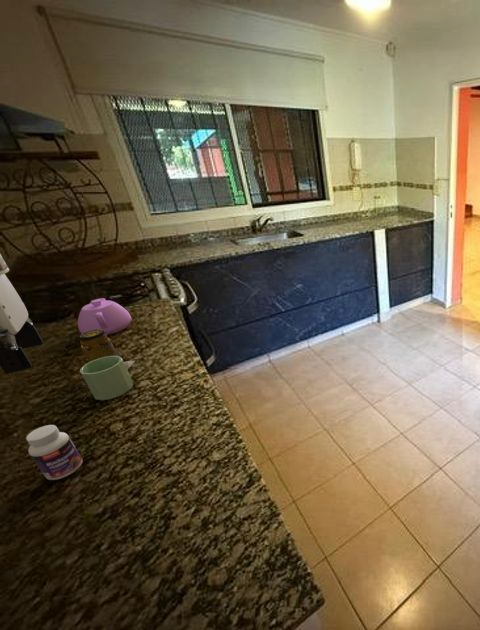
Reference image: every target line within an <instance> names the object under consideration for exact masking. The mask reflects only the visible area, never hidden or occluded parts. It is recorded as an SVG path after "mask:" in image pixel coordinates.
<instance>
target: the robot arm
mask: <svg viewBox="0 0 480 630" xmlns="http://www.w3.org/2000/svg"><path fill="white" fill-rule="evenodd" d="M9 272H10V268H9V267H8V265H7V263H6V261H5V260H4V258H3V255H2V254H1V253H0V368H1V369H2V371H3V372H4V373H5V374H12V373H16V372H20V371H25V370H28V369H31V368H32V367H33V363H32V361H31V360H30V359H29V357H28V355H27V354H26V352H25V351H24V349H29V348H32V347H37V346H41V345H43V344H44V339H42V336H41V335H40V334H39V332H38V330H37V328H36V326H35V325H34V324H33V321H32V319H31V318H29V311H28V310H27V307H26V305H25V303H24V302H23V299H22V298H21V296H20V295H19V293H18V292H17V290H16V289H15V287H14V286H13V283H11V281H10V279H9V277H8V276H7V275H6V274H8V273H9ZM3 339H6V340H7V341H5V340H3Z"/></svg>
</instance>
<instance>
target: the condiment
mask: <svg viewBox="0 0 480 630" xmlns="http://www.w3.org/2000/svg"><path fill="white" fill-rule="evenodd" d="M78 340H79V342H80V344H81V345H80V348H81V350H82V352H83V355H84V356H85V358H86V360H87V363H89V362H91V361H93V360H96V359H98V358H102V357H106V356H119V355H118V353H117V351H116V349H115V347H114V344H113V342H112V340H111V339H110V338H109V337H108V335H106V334H105V332H104V330H101V329H96V330H90V331H87V332H85V333H81V334H79V335H78ZM123 362H124V364H125V366H126V368H127V370H129V369H130V368H131V367H132V365H134V363H135V362H136V360H128V361H123Z"/></svg>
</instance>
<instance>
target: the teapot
mask: <svg viewBox="0 0 480 630" xmlns="http://www.w3.org/2000/svg"><path fill="white" fill-rule="evenodd" d="M131 322H132V316H131V314H130V312H129V311H128V310H127V309H125V308H124V307H123V306H122V305H120V304H119V303H117V302H116V301H113V300H109V299H107V300H106V298H105V297H99V298H96V299H93V300H90V302H89V303H88V304H86V305H84V306H83V307H82V308H80V311H79V315H78V318H77V327H78V330H79V332H80V333H81V334H82V333H85V332H87V331H90V330H96V329H101V330H104V332H105V334H106V335H107V336H109V335H113V334H115V333H119V332H121V331H123V330H125V329H126V328H128V327H129V326H130V324H131Z"/></svg>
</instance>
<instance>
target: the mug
mask: <svg viewBox="0 0 480 630" xmlns="http://www.w3.org/2000/svg"><path fill="white" fill-rule="evenodd" d="M124 362H125V361H124V360H123V358H122V356H119V355H118V356H106V357H102V358H98V359H96V360H93V361H91V362H87V363H85V364H84V365H83V366H82V367H80V368H79V373H80V376H81V377H82V380H83V381H84V382H85V384H86V387H87V388H88V391H89V392H90V394H91V396H92V397H93V398H94V400H97V401H106V400H112V399H115V398H117V397H120V396H123V395H124V394H125V393H128V392H129V391H130V390H132V388H133V386H134V382H133V380H132V376H131V375H130V373H129V371H128V370H129V369H128V370H127V368H126V366H125V364H124Z"/></svg>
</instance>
